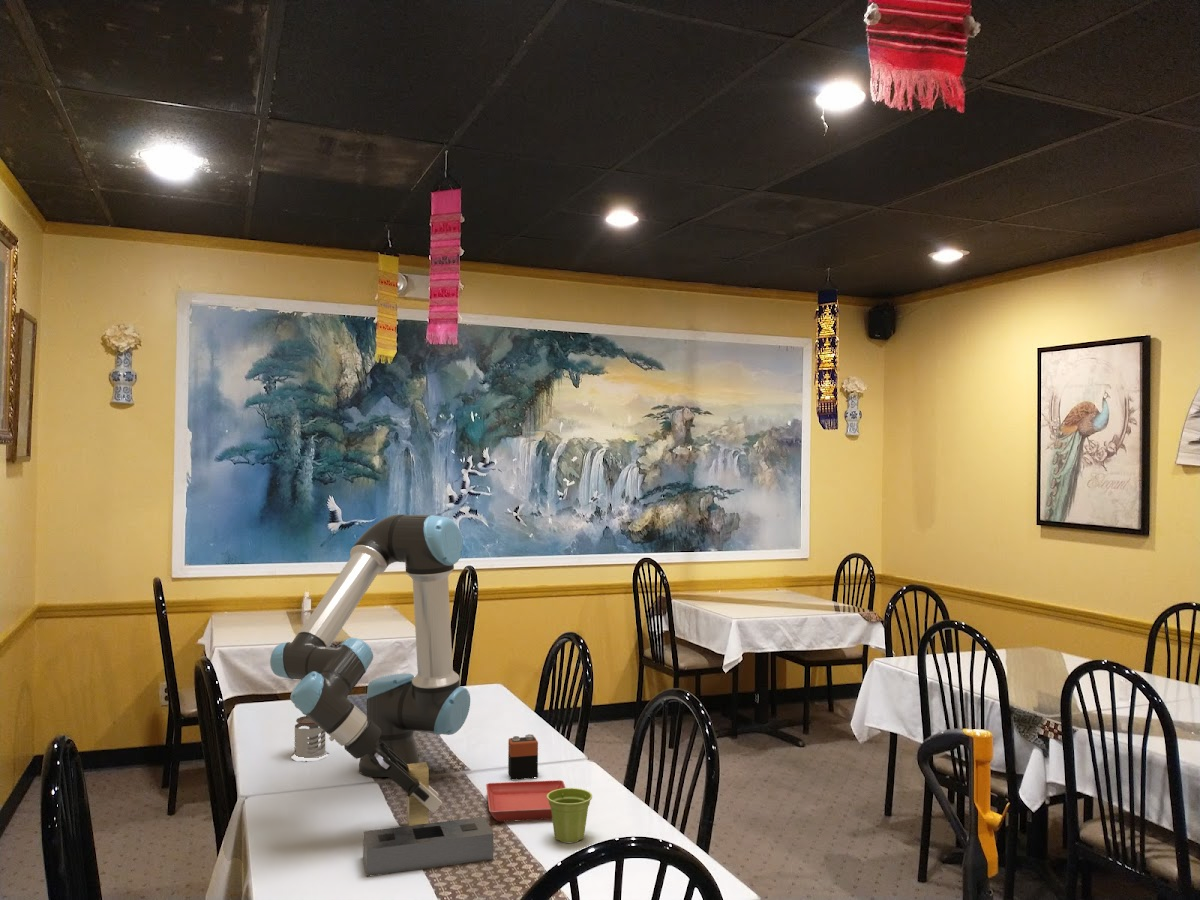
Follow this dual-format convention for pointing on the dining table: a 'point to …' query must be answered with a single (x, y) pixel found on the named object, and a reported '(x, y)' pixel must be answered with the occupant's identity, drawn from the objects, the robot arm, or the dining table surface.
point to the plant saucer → (521, 799)
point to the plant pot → (569, 813)
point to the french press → (302, 739)
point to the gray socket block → (427, 845)
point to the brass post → (415, 808)
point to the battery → (523, 757)
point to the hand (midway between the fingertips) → (435, 803)
